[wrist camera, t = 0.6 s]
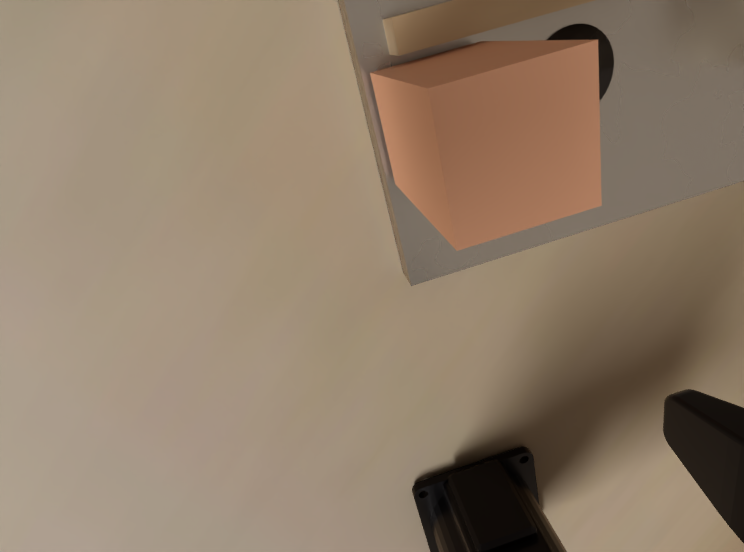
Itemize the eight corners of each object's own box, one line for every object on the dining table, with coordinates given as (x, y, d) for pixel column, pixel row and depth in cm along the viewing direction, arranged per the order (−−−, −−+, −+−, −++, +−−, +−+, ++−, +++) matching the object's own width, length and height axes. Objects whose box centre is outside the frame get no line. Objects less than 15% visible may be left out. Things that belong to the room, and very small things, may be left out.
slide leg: (494, 154, 17) (601, 205, 11) (395, 184, 16) (457, 250, 11) (480, 40, 15) (598, 39, 10) (369, 72, 15) (428, 88, 9)
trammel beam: (874, 36, 18) (1127, 33, 13) (414, 174, 17) (482, 234, 12) (909, -127, 16) (1235, -213, 10) (382, 19, 15) (448, 4, 9)
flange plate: (840, 135, 21) (872, 141, 20) (403, 273, 20) (411, 286, 19) (917, -235, 16) (967, -256, 14) (319, -79, 14) (323, -89, 13)
